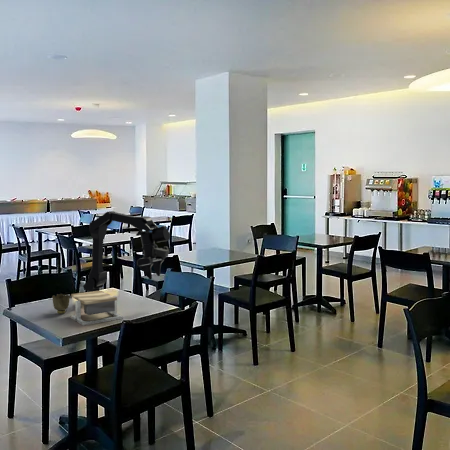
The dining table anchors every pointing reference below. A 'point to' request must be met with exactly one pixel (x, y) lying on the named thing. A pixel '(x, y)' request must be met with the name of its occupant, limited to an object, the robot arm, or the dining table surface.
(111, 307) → the trapdoor
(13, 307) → the dining table surface
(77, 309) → the trapdoor frame
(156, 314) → the dining table surface
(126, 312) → the dining table surface
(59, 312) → the bronze domed piece
